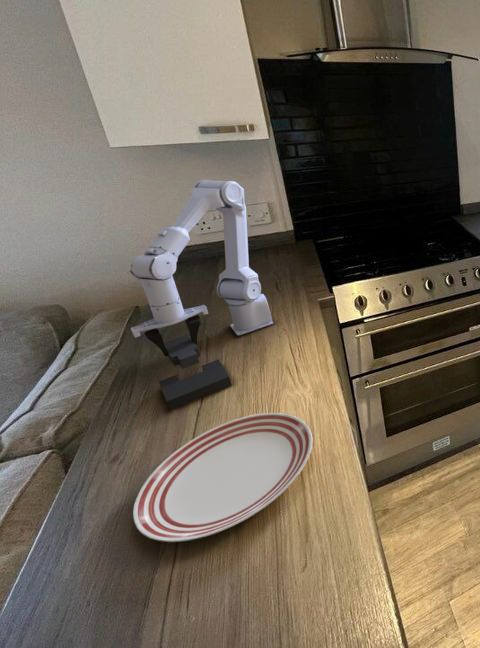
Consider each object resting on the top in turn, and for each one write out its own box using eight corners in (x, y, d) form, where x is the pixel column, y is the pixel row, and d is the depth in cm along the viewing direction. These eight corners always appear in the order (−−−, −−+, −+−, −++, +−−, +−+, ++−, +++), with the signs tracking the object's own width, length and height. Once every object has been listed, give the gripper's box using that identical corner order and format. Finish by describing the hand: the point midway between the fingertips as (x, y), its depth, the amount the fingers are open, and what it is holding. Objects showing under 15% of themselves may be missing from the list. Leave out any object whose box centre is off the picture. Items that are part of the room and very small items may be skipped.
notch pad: (221, 367, 113) (218, 359, 112) (231, 384, 106) (229, 376, 105) (161, 389, 104) (158, 381, 104) (169, 410, 98) (166, 401, 97)
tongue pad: (190, 343, 115) (187, 334, 114) (204, 360, 108) (201, 351, 107) (164, 352, 111) (161, 343, 110) (177, 371, 104) (174, 362, 103)
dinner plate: (120, 589, 64) (113, 574, 63) (152, 459, 86) (147, 446, 84) (324, 499, 78) (321, 486, 76) (307, 407, 99) (304, 395, 98)
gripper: (195, 285, 113) (209, 331, 117) (121, 307, 102) (140, 356, 107) (204, 294, 108) (218, 340, 113) (127, 317, 98) (147, 367, 103)
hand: (181, 348), depth 110 cm, fingers closed on tongue pad, 5 cm apart
